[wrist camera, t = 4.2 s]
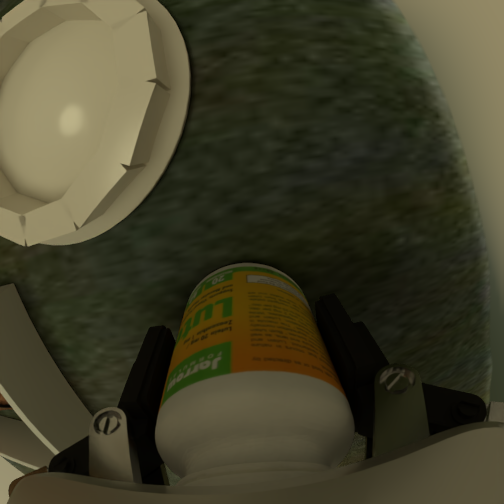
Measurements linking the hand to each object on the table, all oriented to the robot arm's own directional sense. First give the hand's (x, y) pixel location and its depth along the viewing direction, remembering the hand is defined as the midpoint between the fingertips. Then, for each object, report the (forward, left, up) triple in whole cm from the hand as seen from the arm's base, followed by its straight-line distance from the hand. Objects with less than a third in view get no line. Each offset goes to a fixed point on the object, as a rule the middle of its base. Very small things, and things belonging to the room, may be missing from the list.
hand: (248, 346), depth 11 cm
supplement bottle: (0, 0, -3) cm, 3 cm away
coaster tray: (+11, +6, -2) cm, 13 cm away
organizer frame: (-3, +25, -2) cm, 25 cm away
